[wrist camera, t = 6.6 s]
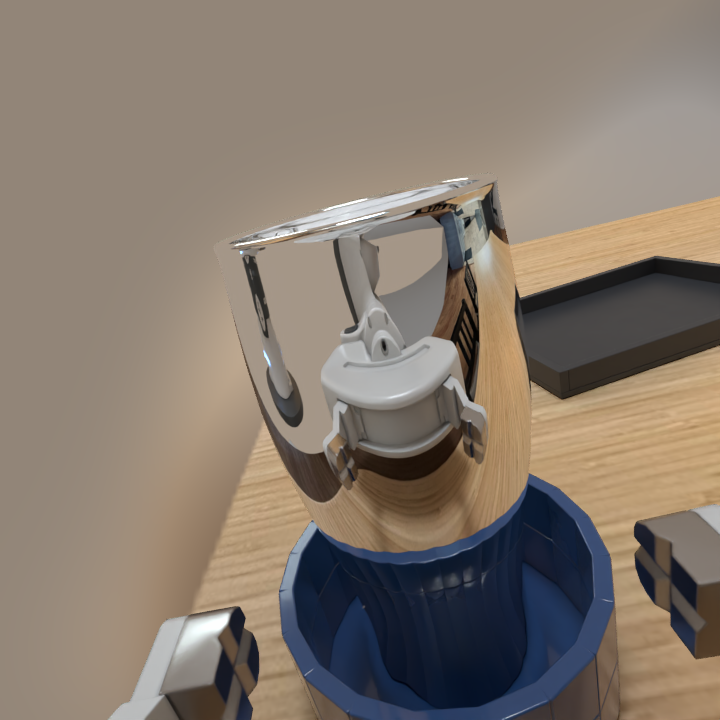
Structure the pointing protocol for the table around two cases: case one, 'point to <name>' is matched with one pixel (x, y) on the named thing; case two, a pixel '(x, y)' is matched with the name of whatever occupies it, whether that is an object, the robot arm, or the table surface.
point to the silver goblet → (404, 423)
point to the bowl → (547, 592)
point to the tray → (620, 322)
